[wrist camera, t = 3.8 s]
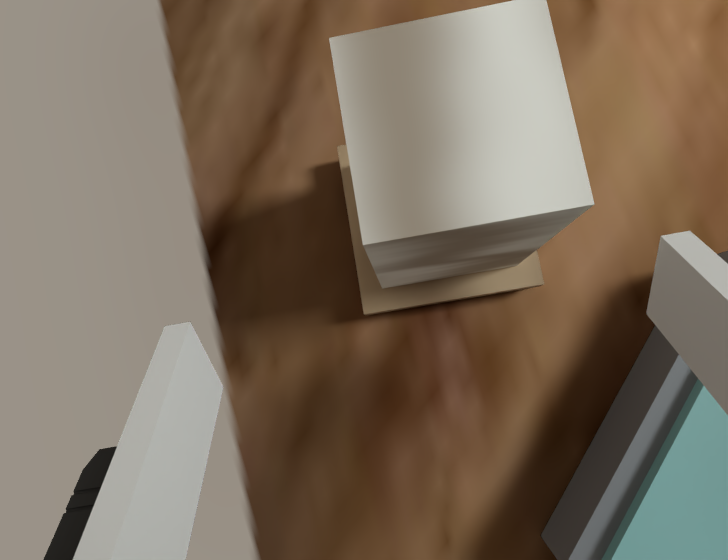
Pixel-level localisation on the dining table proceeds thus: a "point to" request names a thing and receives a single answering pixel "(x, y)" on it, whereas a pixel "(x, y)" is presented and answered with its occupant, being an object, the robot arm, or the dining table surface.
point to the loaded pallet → (456, 153)
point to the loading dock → (650, 471)
